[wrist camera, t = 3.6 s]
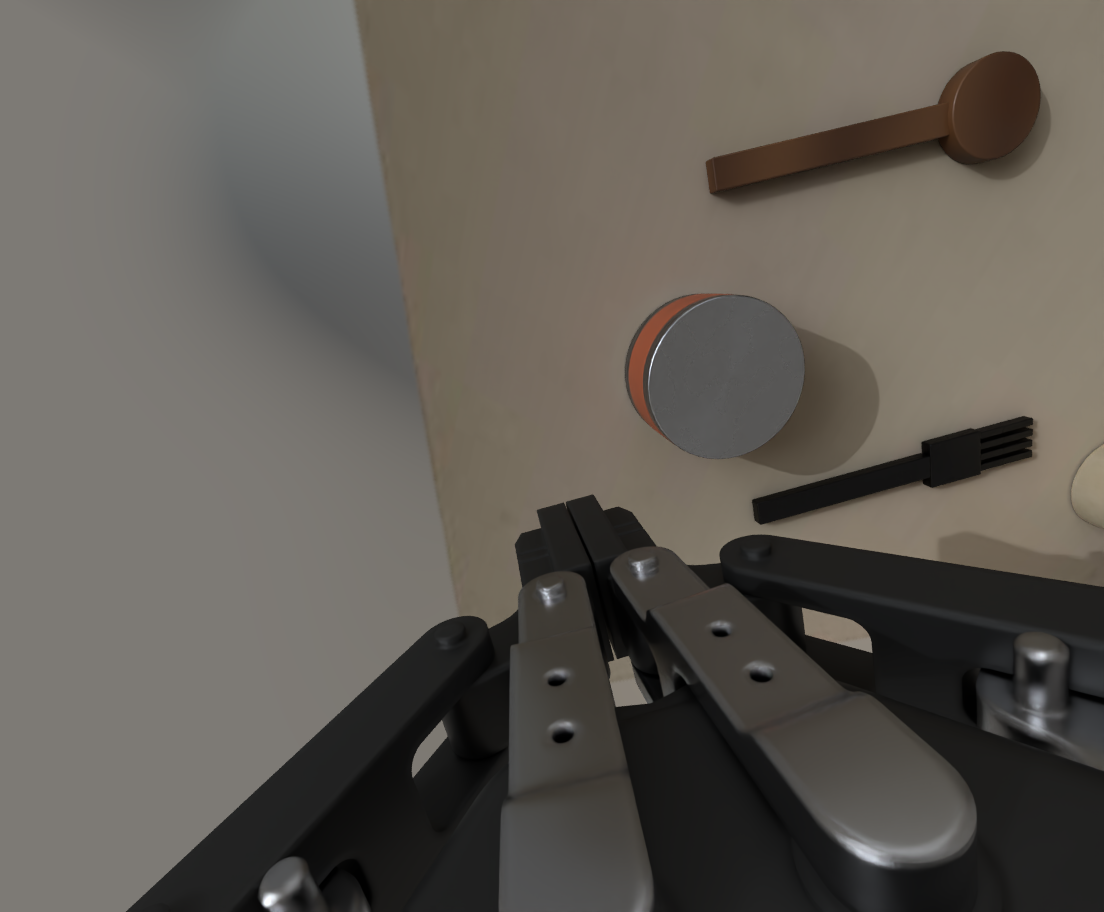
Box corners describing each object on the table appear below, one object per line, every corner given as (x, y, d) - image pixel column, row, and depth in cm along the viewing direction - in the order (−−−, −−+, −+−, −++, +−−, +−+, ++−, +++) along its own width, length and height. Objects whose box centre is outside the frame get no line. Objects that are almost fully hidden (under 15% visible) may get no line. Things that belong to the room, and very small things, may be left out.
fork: (755, 530, 32) (761, 536, 31) (749, 488, 31) (755, 492, 31) (1022, 456, 33) (1034, 459, 32) (1023, 413, 32) (1035, 415, 32)
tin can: (611, 313, 28) (633, 317, 24) (753, 277, 28) (797, 276, 24) (638, 453, 30) (663, 477, 26) (770, 418, 30) (813, 437, 27)
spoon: (714, 227, 27) (723, 225, 26) (700, 125, 26) (709, 118, 25) (1019, 153, 28) (1040, 147, 27) (1020, 50, 27) (1043, 41, 26)
